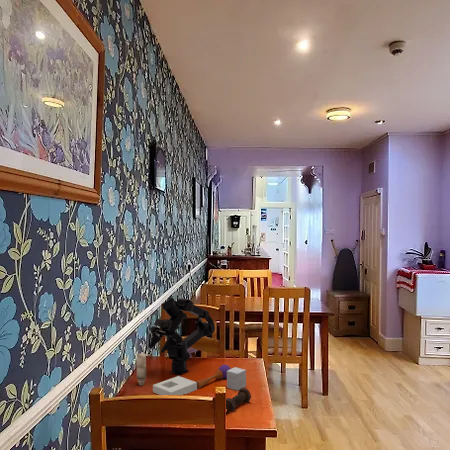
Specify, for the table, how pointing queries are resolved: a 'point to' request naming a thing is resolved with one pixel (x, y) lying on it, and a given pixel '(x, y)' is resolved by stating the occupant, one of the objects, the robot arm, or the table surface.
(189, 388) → the board
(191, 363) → the table surface
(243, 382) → the product box
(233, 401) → the bolt
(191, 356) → the lily
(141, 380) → the peg
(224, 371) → the kendama
